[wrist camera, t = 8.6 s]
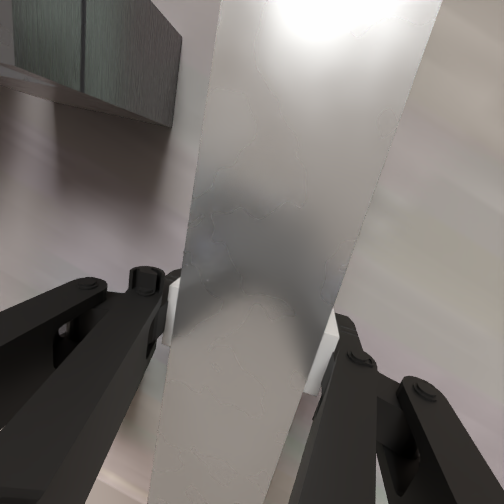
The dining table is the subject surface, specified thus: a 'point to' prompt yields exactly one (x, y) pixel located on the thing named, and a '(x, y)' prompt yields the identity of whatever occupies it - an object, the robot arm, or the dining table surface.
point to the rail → (275, 225)
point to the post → (92, 55)
